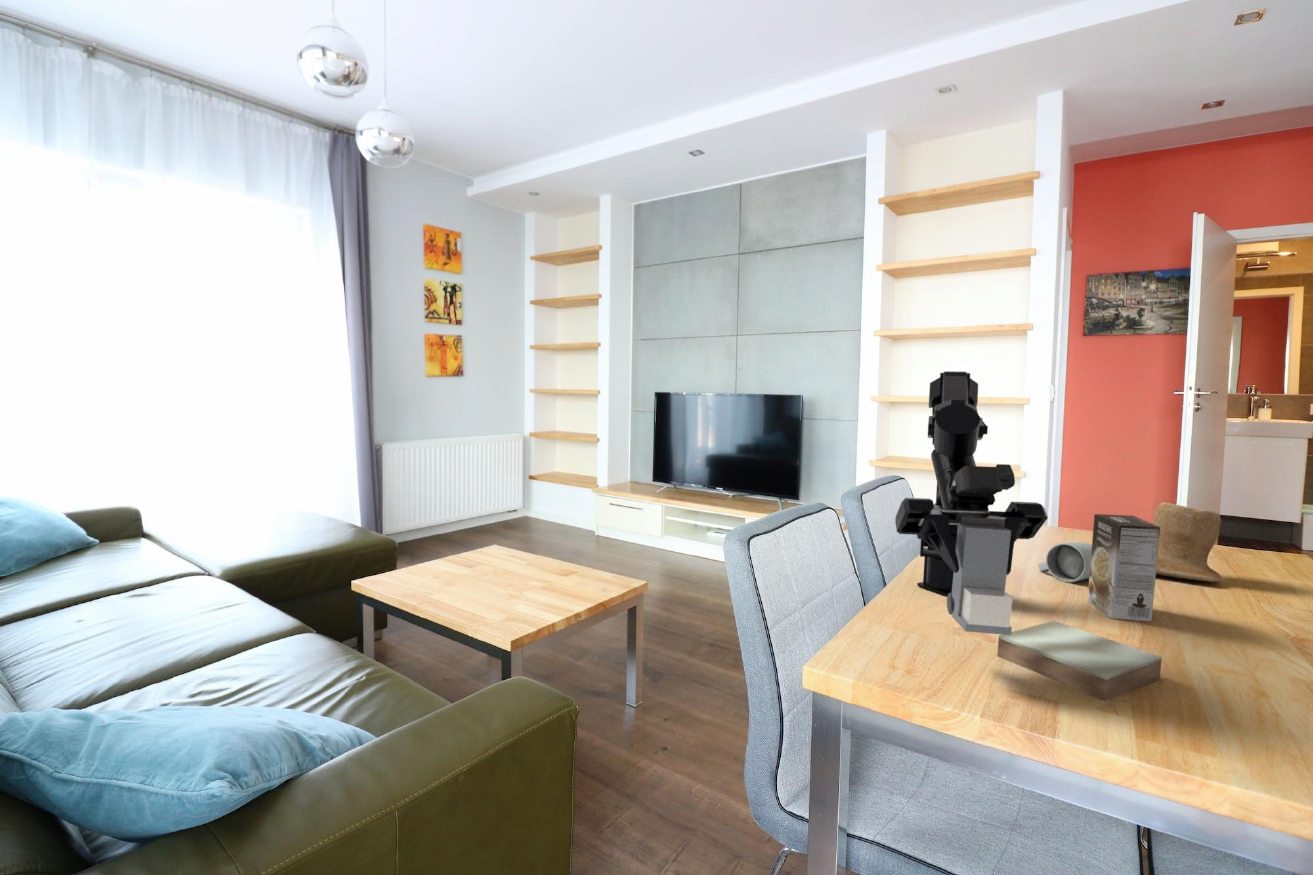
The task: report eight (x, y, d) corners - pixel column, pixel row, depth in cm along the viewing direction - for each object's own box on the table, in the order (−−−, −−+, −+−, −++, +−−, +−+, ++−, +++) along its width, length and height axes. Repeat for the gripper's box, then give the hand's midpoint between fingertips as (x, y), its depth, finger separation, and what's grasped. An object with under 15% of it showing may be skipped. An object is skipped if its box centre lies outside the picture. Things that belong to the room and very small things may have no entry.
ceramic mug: (1106, 581, 126) (1108, 543, 125) (1084, 587, 122) (1086, 547, 121) (1051, 568, 135) (1052, 532, 134) (1028, 573, 131) (1030, 536, 130)
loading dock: (997, 655, 90) (998, 635, 90) (1052, 639, 96) (1053, 620, 96) (1104, 700, 77) (1106, 676, 77) (1159, 678, 83) (1161, 657, 83)
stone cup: (1219, 576, 130) (1226, 504, 129) (1221, 590, 121) (1228, 513, 120) (1128, 562, 140) (1133, 495, 139) (1123, 573, 131) (1129, 502, 130)
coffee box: (1085, 600, 114) (1092, 512, 112) (1125, 603, 113) (1132, 515, 111) (1110, 619, 105) (1118, 524, 103) (1154, 622, 104) (1163, 526, 102)
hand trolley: (945, 610, 89) (955, 512, 88) (987, 613, 89) (997, 515, 87) (965, 631, 82) (975, 525, 80) (1011, 635, 81) (1022, 528, 80)
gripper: (904, 441, 89) (924, 537, 79) (1046, 445, 87) (1084, 544, 77) (887, 487, 97) (904, 579, 87) (1016, 491, 95) (1047, 586, 85)
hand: (982, 572), depth 84 cm, fingers closed on hand trolley, 6 cm apart
